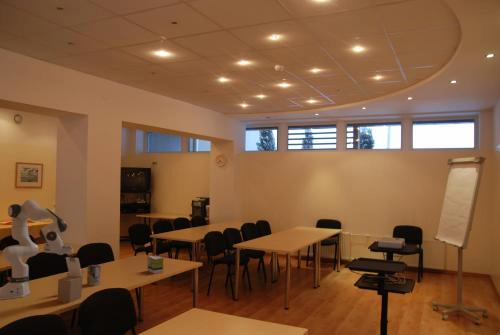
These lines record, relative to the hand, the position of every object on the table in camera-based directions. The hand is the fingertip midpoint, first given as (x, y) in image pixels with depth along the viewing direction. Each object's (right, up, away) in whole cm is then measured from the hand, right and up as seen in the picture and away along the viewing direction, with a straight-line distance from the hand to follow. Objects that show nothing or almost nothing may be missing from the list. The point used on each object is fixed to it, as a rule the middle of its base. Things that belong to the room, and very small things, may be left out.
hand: (60, 253), depth 294 cm
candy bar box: (+3, -35, +16) cm, 38 cm away
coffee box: (+9, -36, +39) cm, 54 cm away
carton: (+8, -34, -2) cm, 35 cm away
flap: (+9, -10, +2) cm, 14 cm away
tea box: (+50, -38, +88) cm, 108 cm away
